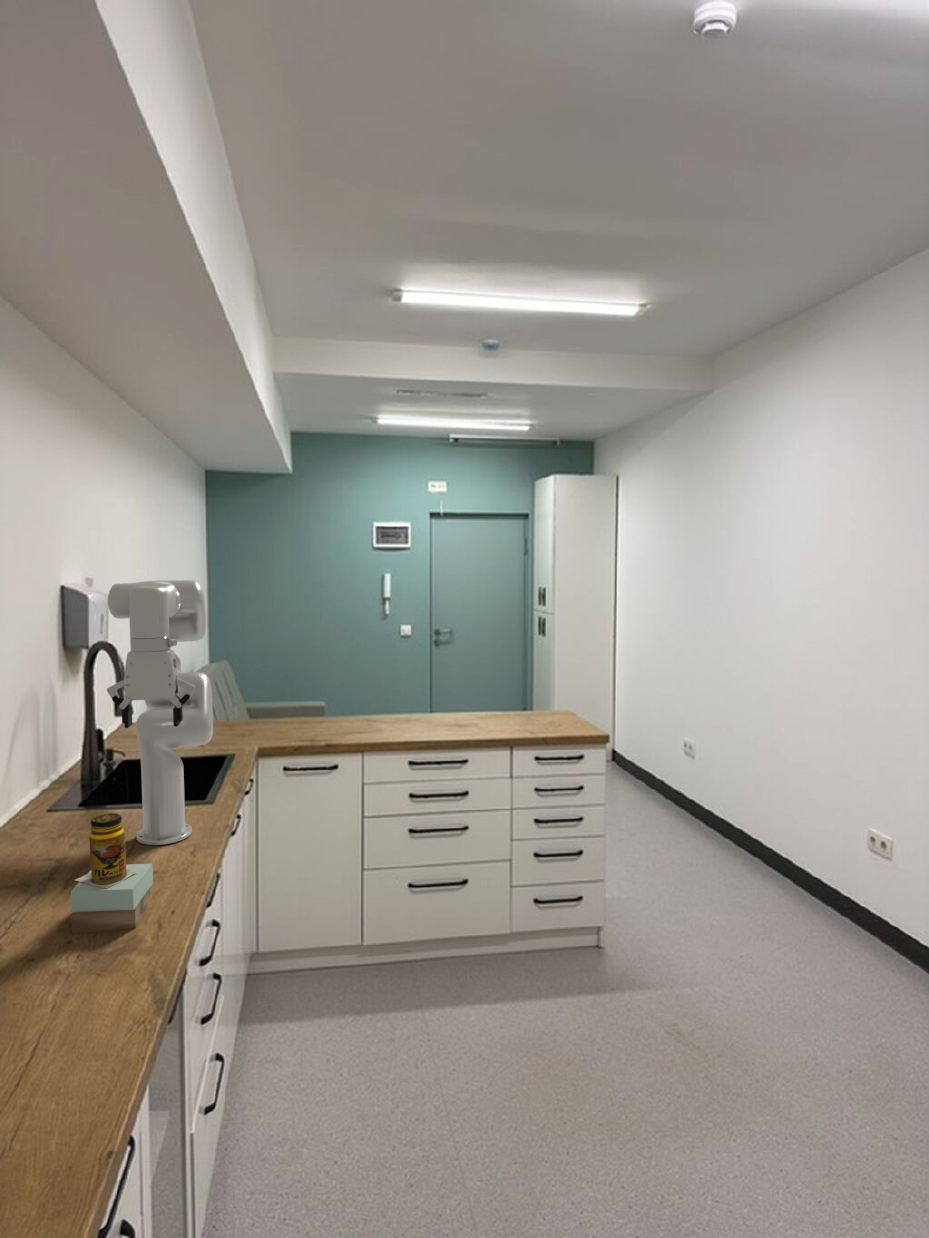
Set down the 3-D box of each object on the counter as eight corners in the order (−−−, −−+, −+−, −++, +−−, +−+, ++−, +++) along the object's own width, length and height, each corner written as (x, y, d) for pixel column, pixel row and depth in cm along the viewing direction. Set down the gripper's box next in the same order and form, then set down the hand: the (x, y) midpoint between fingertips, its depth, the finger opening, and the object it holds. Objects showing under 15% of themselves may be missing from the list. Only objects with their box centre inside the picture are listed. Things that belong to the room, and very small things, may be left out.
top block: (95, 884, 145) (95, 865, 145) (153, 882, 146) (152, 863, 146) (71, 912, 134) (70, 891, 134) (133, 909, 135) (132, 888, 135)
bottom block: (91, 906, 145) (90, 887, 144) (150, 901, 146) (149, 882, 146) (72, 935, 134) (71, 914, 133) (135, 929, 136) (135, 909, 135)
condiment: (106, 889, 135) (103, 826, 134) (74, 881, 138) (71, 819, 137) (138, 873, 141) (135, 813, 140) (106, 865, 145) (103, 807, 144)
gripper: (197, 642, 157) (199, 720, 159) (111, 643, 154) (114, 723, 156) (190, 647, 150) (192, 728, 151) (100, 648, 147) (103, 731, 148)
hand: (152, 725), depth 153 cm, fingers open, 9 cm apart
